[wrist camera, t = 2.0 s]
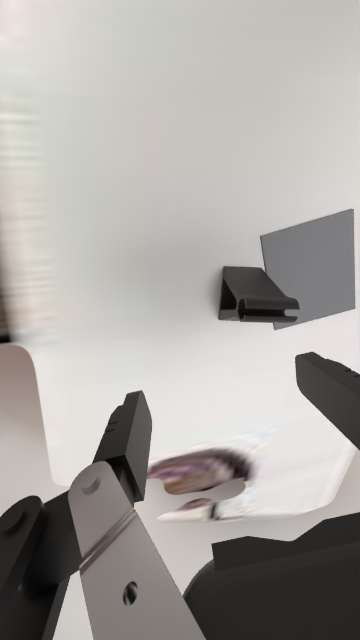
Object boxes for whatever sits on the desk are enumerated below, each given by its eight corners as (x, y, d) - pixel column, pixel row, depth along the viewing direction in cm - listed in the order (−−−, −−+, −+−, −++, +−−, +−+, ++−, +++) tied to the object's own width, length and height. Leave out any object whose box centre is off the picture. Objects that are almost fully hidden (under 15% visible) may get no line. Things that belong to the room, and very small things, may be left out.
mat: (351, 209, 30) (353, 208, 29) (353, 308, 34) (355, 308, 34) (260, 236, 31) (261, 236, 30) (274, 329, 35) (275, 330, 35)
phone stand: (223, 266, 32) (252, 269, 20) (260, 267, 32) (308, 272, 21) (218, 319, 34) (240, 349, 23) (251, 320, 35) (290, 350, 23)
